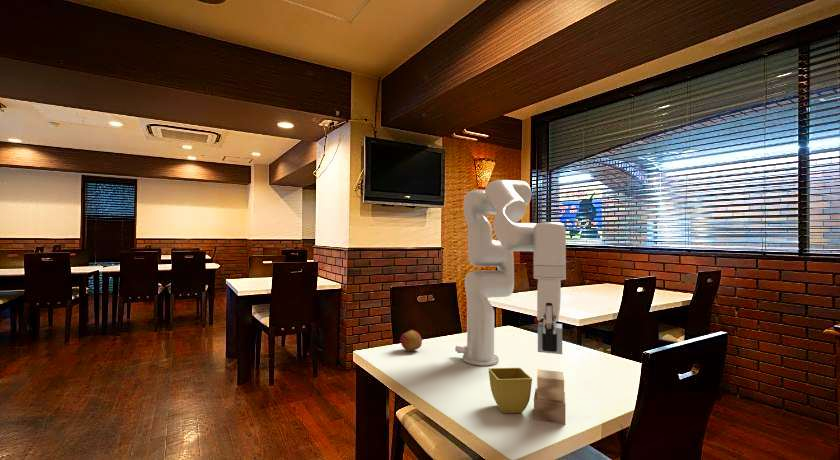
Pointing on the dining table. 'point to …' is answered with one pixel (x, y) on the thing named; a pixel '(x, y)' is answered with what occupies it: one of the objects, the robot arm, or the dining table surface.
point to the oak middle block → (550, 385)
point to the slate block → (559, 338)
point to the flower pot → (510, 388)
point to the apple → (411, 340)
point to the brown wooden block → (549, 410)
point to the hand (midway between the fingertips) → (549, 346)
